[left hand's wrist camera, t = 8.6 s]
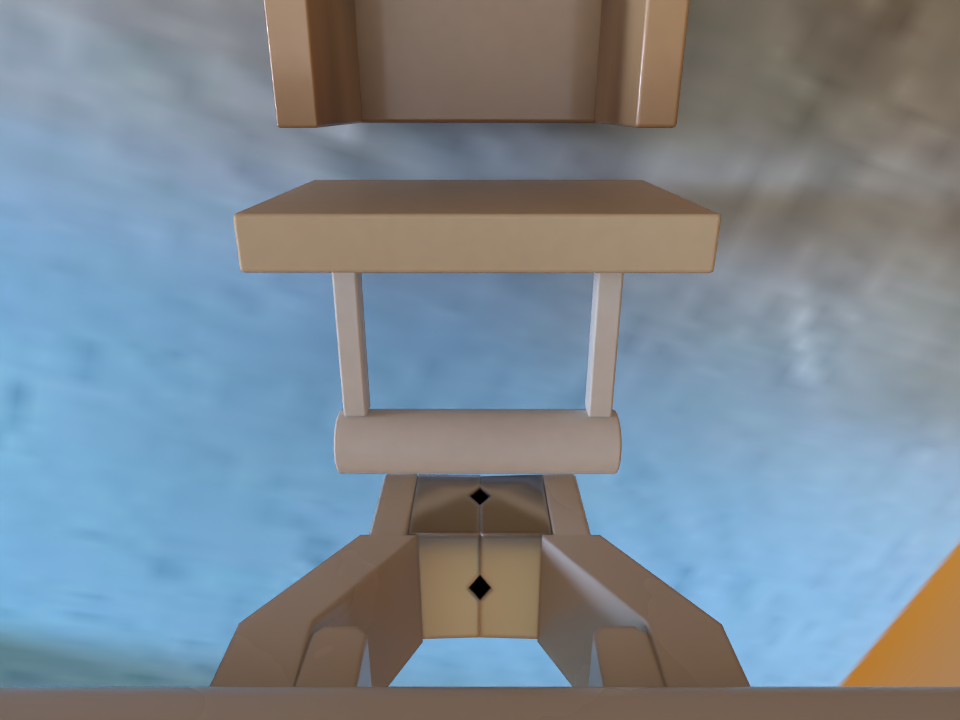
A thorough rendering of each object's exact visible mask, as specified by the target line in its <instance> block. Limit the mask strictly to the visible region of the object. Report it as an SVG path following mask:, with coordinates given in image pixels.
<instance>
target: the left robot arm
mask: <svg viewBox="0 0 960 720" xmlns="http://www.w3.org/2000/svg"><path fill="white" fill-rule="evenodd" d="M469 637H490V638H526V639H538V643H539V644H540V645H541V647H542V648H543V649H544V651H545V652H546V653H547V654H548V656H549V657H550V658H551V660H552V661H553V662H554V663H555V665H556V666H557V667H558V669H559V670H560V671H561V672H562V674H563V675H564V676H565V678H566V679H567V680H568V681H569V683H570V684H571V685H572V687H388V686H389V684H390V683H391V682H392V681H393V679H394V678H395V677H396V676H397V674H398V673H399V672H400V670H401V669H402V668H403V667H404V665H405V664H406V663H407V661H408V660H409V659H410V658H411V656H412V655H413V654H414V652H415V651H416V650H417V649H418V647H419V646H420V645H421V643H422V642H423V640H422V639H434V638H469ZM0 720H960V687H750V685H749V682H748V680H747V678H746V676H745V674H744V672H743V669H742V667H741V665H740V663H739V661H738V659H737V656H736V654H735V652H734V650H733V648H732V646H731V643H730V641H729V639H728V637H727V635H726V633H725V631H724V628H723V626H722V624H720V623H719V622H718V621H716V620H715V619H714V618H712V617H711V616H709V615H708V614H707V613H705V612H704V611H703V610H701V609H700V608H699V607H697V606H696V605H695V604H693V603H692V602H690V601H689V600H688V599H686V598H685V597H684V596H682V595H681V594H680V593H678V592H677V591H675V590H674V589H673V588H671V587H670V586H669V585H667V584H666V583H665V582H663V581H662V580H660V579H659V578H658V577H656V576H655V575H654V574H652V573H651V572H650V571H648V570H647V569H645V568H644V567H643V566H641V565H640V564H639V563H637V562H636V561H635V560H633V559H632V558H630V557H629V556H628V555H626V554H625V553H624V552H622V551H621V550H620V549H618V548H617V547H615V546H614V545H613V544H611V543H610V542H609V541H607V540H606V539H605V538H603V537H602V536H600V535H591V534H590V530H589V526H588V523H587V519H586V515H585V511H584V507H583V503H582V500H581V496H580V492H579V488H578V484H577V481H576V477H575V476H574V475H573V474H549V475H513V476H480V475H430V474H419V475H417V474H387V475H386V476H385V478H384V480H383V484H382V488H381V491H380V495H379V499H378V503H377V507H376V511H375V515H374V519H373V522H372V526H371V530H370V534H369V535H360V536H358V537H357V538H355V539H354V540H353V541H351V542H350V543H349V544H347V545H346V546H345V547H343V548H342V549H340V550H339V551H338V552H336V553H335V554H334V555H332V556H331V557H329V558H328V559H327V560H325V561H324V562H323V563H321V564H320V565H318V566H317V567H316V568H314V569H313V570H312V571H310V572H309V573H308V574H306V575H305V576H303V577H302V578H301V579H299V580H298V581H297V582H295V583H294V584H292V585H291V586H290V587H288V588H287V589H286V590H284V591H283V592H282V593H280V594H279V595H277V596H276V597H275V598H273V599H272V600H271V601H269V602H268V603H266V604H265V605H264V606H262V607H261V608H260V609H258V610H257V611H256V612H254V613H253V614H251V615H250V616H249V617H247V618H246V619H245V620H243V621H242V622H240V623H239V625H238V627H237V629H236V631H235V633H234V635H233V638H232V640H231V642H230V644H229V646H228V648H227V650H226V653H225V655H224V657H223V659H222V661H221V663H220V665H219V667H218V670H217V672H216V674H215V676H214V678H213V680H212V682H211V685H210V687H0Z"/></svg>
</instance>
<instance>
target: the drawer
mask: <svg viewBox="0 0 960 720" xmlns="http://www.w3.org/2000/svg"><path fill="white" fill-rule="evenodd" d="M689 1H690V0H264V8H265V18H266V27H267V36H268V45H269V55H270V64H271V73H272V82H273V92H274V101H275V110H276V120H277V126H278V127H280V128H317V127H326V126H335V125H344V124H353V123H603V124H612V125H620V126H628V127H637V128H673V127H675V126H676V124H677V115H678V105H679V96H680V86H681V77H682V67H683V58H684V48H685V39H686V29H687V20H688V10H689ZM233 220H234V227H235V234H236V242H237V249H238V256H239V263H240V269H241V271H242V272H271V273H332V282H333V294H334V305H335V317H336V329H337V340H338V352H339V364H340V376H341V387H342V399H343V409H342V410H340V412H339V414H338V416H337V419H336V424H335V431H334V458H335V464H336V468H337V470H338V472H339V473H342V474H615V473H617V471H618V469H619V466H620V461H621V429H620V422H619V418H618V415H617V413H616V411H615V410H613V409H612V405H613V393H614V381H615V369H616V357H617V345H618V333H619V321H620V309H621V297H622V285H623V273H710V272H713V270H714V265H715V258H716V250H717V243H718V236H719V228H720V221H721V217H720V215H719V214H717V213H715V212H713V211H710V210H708V209H706V208H704V207H701V206H699V205H697V204H695V203H692V202H690V201H688V200H686V199H683V198H681V197H679V196H677V195H674V194H672V193H670V192H668V191H665V190H663V189H661V188H659V187H656V186H654V185H652V184H650V183H647V182H645V181H643V180H314V181H311V182H309V183H307V184H304V185H302V186H300V187H297V188H295V189H292V190H290V191H288V192H285V193H283V194H281V195H278V196H276V197H274V198H271V199H269V200H267V201H264V202H262V203H260V204H257V205H255V206H252V207H250V208H248V209H245V210H243V211H241V212H238V213H236V214H234V217H233ZM361 273H594V282H593V297H592V312H591V327H590V342H589V357H588V372H587V387H586V402H585V407H586V409H369V408H370V395H369V381H368V366H367V351H366V337H365V322H364V307H363V293H362V278H361Z"/></svg>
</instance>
